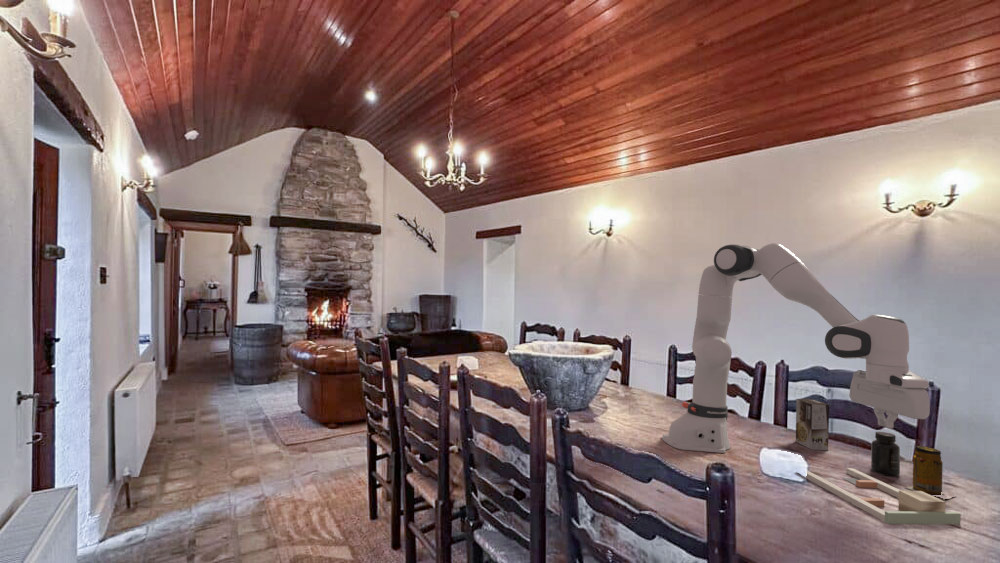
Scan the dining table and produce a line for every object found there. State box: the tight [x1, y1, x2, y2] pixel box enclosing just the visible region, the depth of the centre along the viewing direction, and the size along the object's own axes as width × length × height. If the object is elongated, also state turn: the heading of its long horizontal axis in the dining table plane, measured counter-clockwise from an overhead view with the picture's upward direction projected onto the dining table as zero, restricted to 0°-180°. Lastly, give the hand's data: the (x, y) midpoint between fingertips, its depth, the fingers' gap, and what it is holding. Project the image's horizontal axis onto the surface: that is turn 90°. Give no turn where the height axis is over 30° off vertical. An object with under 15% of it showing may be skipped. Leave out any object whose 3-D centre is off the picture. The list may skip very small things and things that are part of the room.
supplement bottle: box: [870, 431, 901, 477], centre depth 141 cm, size 7×7×12 cm
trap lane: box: [805, 467, 962, 525], centre depth 124 cm, size 18×30×2 cm, turn 4°
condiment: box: [905, 445, 946, 501], centre depth 127 cm, size 7×8×12 cm
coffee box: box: [795, 398, 830, 451], centre depth 165 cm, size 9×6×16 cm
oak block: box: [897, 489, 946, 512], centre depth 113 cm, size 6×6×5 cm
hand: (885, 426), depth 123 cm, fingers closed
